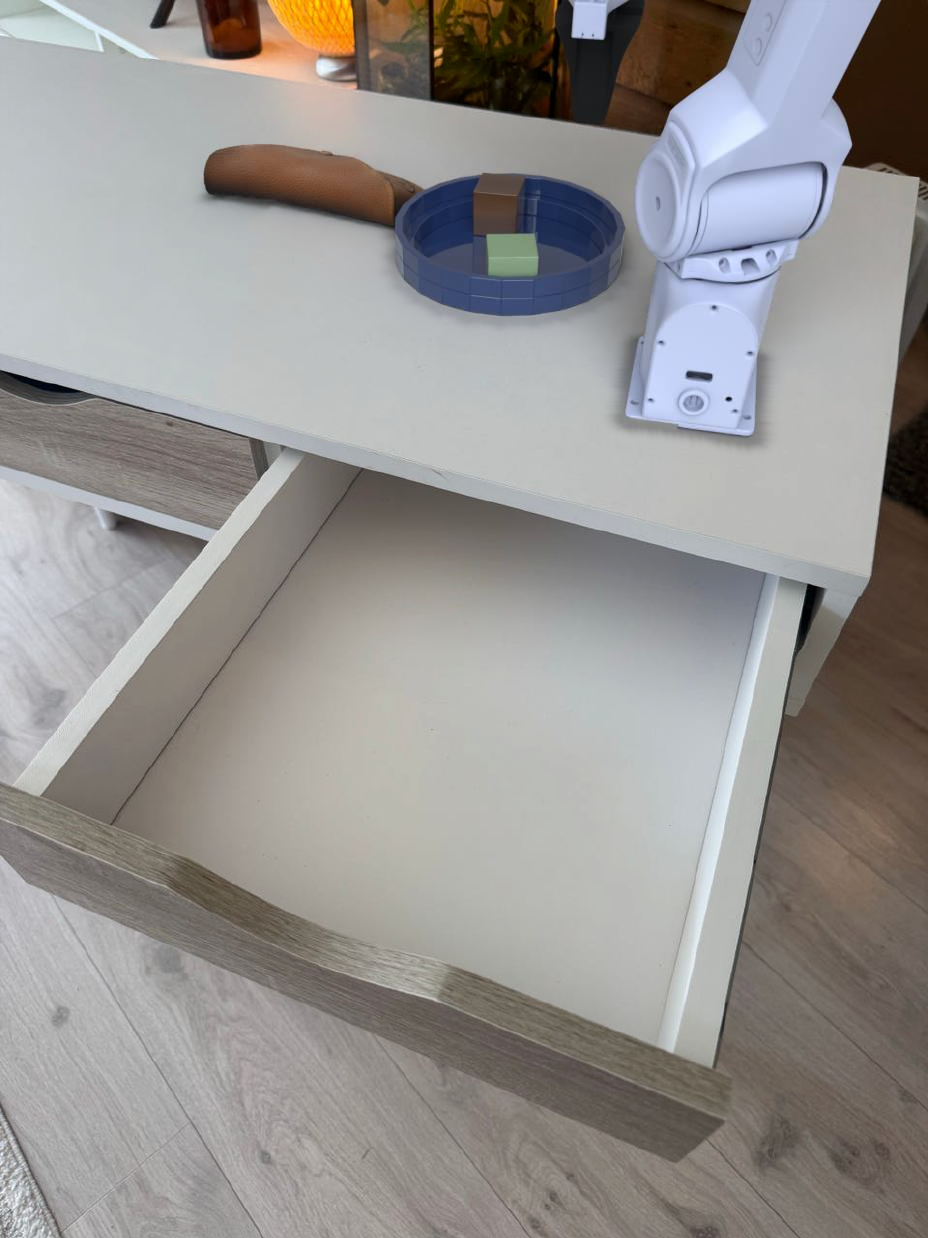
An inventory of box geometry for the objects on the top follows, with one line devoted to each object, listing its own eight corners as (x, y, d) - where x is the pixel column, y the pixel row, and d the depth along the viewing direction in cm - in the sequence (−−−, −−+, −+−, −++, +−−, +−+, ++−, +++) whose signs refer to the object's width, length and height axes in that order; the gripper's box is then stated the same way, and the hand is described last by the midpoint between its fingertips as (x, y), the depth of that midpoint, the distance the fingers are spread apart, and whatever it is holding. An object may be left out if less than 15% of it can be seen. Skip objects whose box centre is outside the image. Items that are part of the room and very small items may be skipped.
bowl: (604, 334, 66) (609, 292, 63) (370, 306, 68) (366, 264, 66) (630, 223, 77) (635, 184, 75) (428, 202, 79) (426, 163, 77)
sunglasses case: (438, 189, 80) (419, 133, 74) (411, 261, 79) (389, 211, 73) (254, 156, 84) (222, 101, 78) (227, 224, 83) (191, 174, 77)
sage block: (487, 303, 68) (488, 257, 65) (485, 279, 70) (486, 233, 67) (535, 302, 68) (538, 256, 65) (532, 278, 70) (534, 232, 67)
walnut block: (515, 239, 74) (517, 195, 71) (472, 235, 75) (473, 190, 72) (523, 219, 76) (525, 175, 74) (481, 215, 77) (482, 171, 74)
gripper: (564, -143, 62) (550, 79, 73) (528, -92, 53) (517, 156, 63) (670, -139, 61) (641, 86, 72) (653, -85, 52) (622, 165, 62)
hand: (589, 120), depth 67 cm, fingers closed
